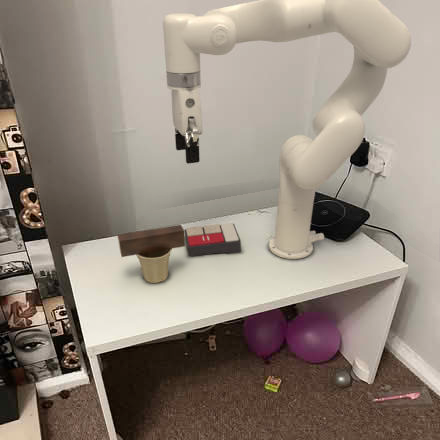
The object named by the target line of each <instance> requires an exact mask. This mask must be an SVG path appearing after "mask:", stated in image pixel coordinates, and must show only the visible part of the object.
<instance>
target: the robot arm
mask: <svg viewBox="0 0 440 440" xmlns="http://www.w3.org/2000/svg"><path fill="white" fill-rule="evenodd" d="M162 21H163V22H162V23H163V24H162V30H163V41H164V42H163V43H164V58H165V72H166V74H165V75H166V88H167V89H170V90H171V92H170V94H171V112H172V113H171V114H172V122H173V127H174V132H175V133H174V139H175V150H176V151H185V163H186V164H187V165H189V164H196V163H197V164H198V163H199V162H200V159H201V157H200V138H199V136H200V135H202V134H203V119H202V105H201V104H202V103H201V97H200V96H201V95H200V90H199V89H200V88H201V87H202V79H201V78H202V75H201V54H204V55H212V56H224V55H226V54H229V53H230V52H231V51H232V50H233V49H234V48H235V46H236V45H237V44H243V43H248V42H258V41H261V42H271V43H288V42H292V41H296V40H300V39H305V38H310V37H315V36H320V35H321V36H322V35H326V34H330V33H338V34H340V35H341V36H342V37H344V39H346V40H347V41H348V42H349V43H350V44H351V45H352V47H353V62H352V65H351V69H350V71H349V73H348V75H347V76H346V77H345V79H344V80H343V81H342V82H341V84H340V85H339V87H337V89H336V90H334V92H333V93H332V94H331V96H329V98H328V99H327V100H326V101H325V102H324V103H323V104H322V105H321V106H320V107H319V109H318V110H317V112H315V114H314V116H313V118H312V130H313V131H314V133H315V135H316V137H315V138H314V139H312V138H311V137H309V136H307V135H305V134H297V135H294V136H291V137H290V138H288V139H287V140H286V141H285V142H284V143H283V145H282V147H281V149H280V152H279V160H278V161H279V184H278V186H279V187H278V198H277V206H276V207H277V209H276V221H275V231H274V232H275V233H274V236H273V237H272V238H270V240H269V242H268V249H269V250H270V252H271V253H272V254H274V255H275V256H277V257H280V258H283V259H288V260H297V259H304V258H306V257H308V256H309V255H311V254H312V252H313V250H314V245H313V243H314V242H316V241H323V240H324V239H325V235H324V233H323V232H320V233H316V230H311V225H312V224H311V223H312V216H313V210H314V202H315V197H316V189H317V188H319V187H320V186H323V185H324V183H325V184H326V182H327V181H328V180H329V179H330V178H331V177H332V176H333V175H334V174H335V173H336V172H337V171H338V170H339V169H340V168H341V167H342V166H343V165H344V164H345V163H346V161H347V160H349V158H350V157H351V156H352V155H353V154H354V153H355V152H356V151H357V150H358V148H359V147H360V146H361V144H362V142H363V140H364V138H365V134H366V123H365V120H364V119H363V115H364V113H365V112H366V111H367V110H368V109H369V108H370V107H371V105H372V104H373V103H374V101H375V100H376V99H377V98H378V96H379V95H380V93H381V91H382V90H383V87H384V85H385V82H386V78H387V74H388V69H392V68H394V67H397V66H398V65H399V64H401V63H402V62H403V61H404V60H405V59H406V57H408V55H409V52H410V50H411V47H412V36H411V33H410V31H409V28H408V27H407V26H406V25H405V23H404V22H403V21H402V20H401V19H400V18H398V17H397V16H396V15H395V14H394V13H393V12H392V11H390V10H389V8H388V7H386V6H385V5H384V4H383V3H382V2H381V1H380V0H255V1H249V2H244V3H239V4H235V5H230V6H225V7H221V8H220V7H219V8H216V9H211V10H209V11H207V12H206V13H205V14H203V15H201V16H197V15H196V14H193V13H183V12H182V13H181V12H178V13H169V14H167V15H165V16H164V18H163V20H162Z"/></svg>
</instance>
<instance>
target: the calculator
mask: <svg viewBox="0 0 440 440" xmlns="http://www.w3.org/2000/svg"><path fill="white" fill-rule="evenodd" d="M184 236H185V245H186V248H187V254H188V257H196V256H204V255H213V254H221V253H226V254H234V253H240V252H241V251H242V250H241V249H242V245H241V244H242V243H241V238H240V235H239V233H238V231H237V228H236V225H235V223H233V222H229V223H221V224H218V223H217V224H208V225H203V226H201V225H199V226H191V227H186V228H185V229H184Z"/></svg>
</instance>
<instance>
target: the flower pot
mask: <svg viewBox="0 0 440 440" xmlns="http://www.w3.org/2000/svg"><path fill="white" fill-rule="evenodd" d="M172 251H173V248H172V249H166V250H161V251H155V252H149V253H143V254H137V255H136V257H137V260H138V261H139V264H140V268H141V272H142V275H143V279H144V280H145V281H146V282H148V283H151V284H159V283H160V282H164V281H166V279H167V278H168V277H169V264H170V256H171V253H172Z"/></svg>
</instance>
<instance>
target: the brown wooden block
mask: <svg viewBox="0 0 440 440" xmlns="http://www.w3.org/2000/svg"><path fill="white" fill-rule="evenodd" d="M117 242H118V248H119V253H120V256H121V258H125V257H131V256H137V254H143V253H149V252H155V251H161V250H166V249H172V250H173V249H177V248H178V249H179V248H184V247H186V238H185V229H184V228H183V226H182V224H177V225H171V226H163V227H156V228H152V229H151V228H150V229H144V230H138V231H132V232H125V233H119V234H117Z"/></svg>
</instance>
